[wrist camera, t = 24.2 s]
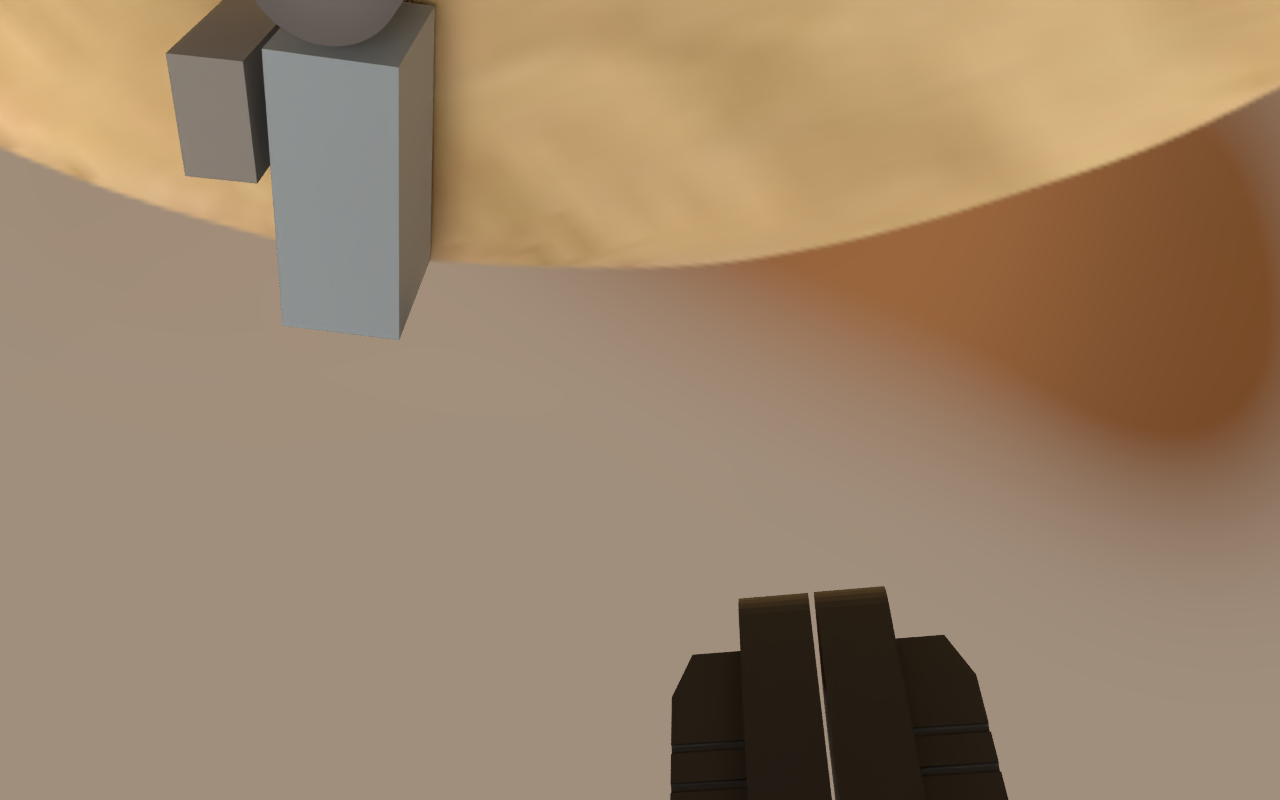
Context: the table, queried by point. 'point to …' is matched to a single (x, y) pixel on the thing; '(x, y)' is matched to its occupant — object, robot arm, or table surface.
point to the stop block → (223, 93)
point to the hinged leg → (350, 159)
